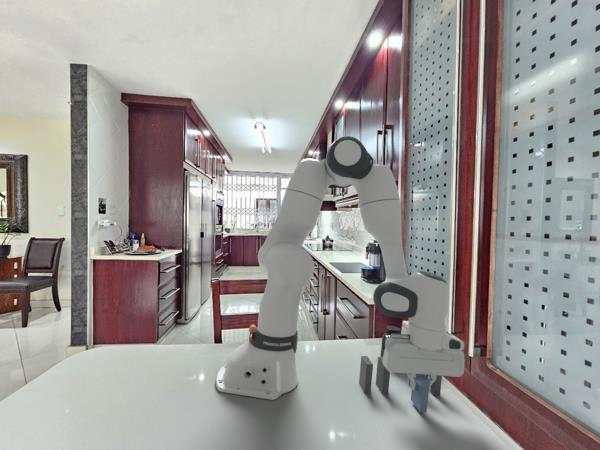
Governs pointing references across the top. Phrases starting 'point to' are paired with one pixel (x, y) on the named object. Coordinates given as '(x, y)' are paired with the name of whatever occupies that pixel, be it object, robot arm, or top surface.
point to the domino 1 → (366, 374)
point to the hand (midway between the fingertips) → (420, 389)
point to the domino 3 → (421, 393)
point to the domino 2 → (382, 377)
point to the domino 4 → (436, 386)
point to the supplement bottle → (389, 331)
